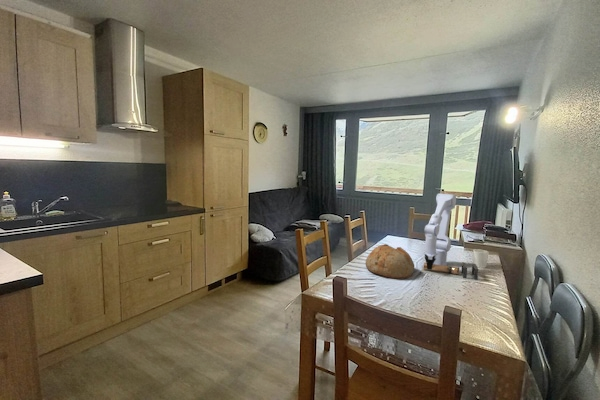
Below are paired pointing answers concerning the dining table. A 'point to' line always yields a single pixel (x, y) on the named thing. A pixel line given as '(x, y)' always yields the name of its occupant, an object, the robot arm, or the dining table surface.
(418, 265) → the dining table surface
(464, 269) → the dark gray arch
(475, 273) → the collar
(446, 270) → the copper tube
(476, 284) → the dining table surface
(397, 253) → the bread
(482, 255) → the white cup
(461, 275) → the pale gray board
